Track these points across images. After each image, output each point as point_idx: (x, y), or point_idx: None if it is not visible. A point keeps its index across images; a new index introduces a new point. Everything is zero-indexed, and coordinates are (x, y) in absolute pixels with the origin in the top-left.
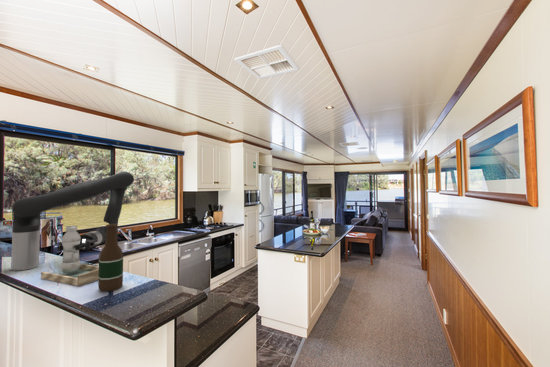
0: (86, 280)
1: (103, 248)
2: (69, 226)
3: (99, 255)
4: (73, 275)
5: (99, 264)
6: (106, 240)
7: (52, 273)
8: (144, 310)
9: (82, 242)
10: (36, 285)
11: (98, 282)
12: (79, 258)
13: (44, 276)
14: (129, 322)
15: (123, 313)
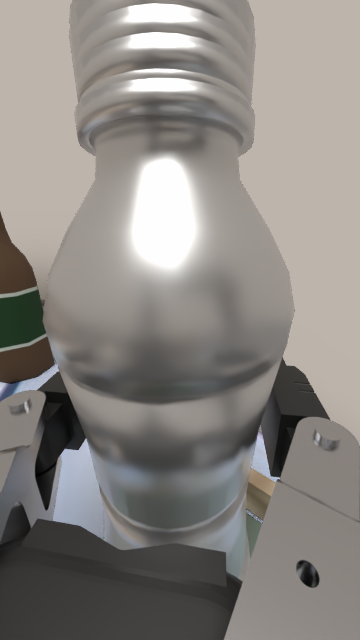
0: None
1: (17, 249)
2: (233, 17)
3: (32, 271)
4: None
5: (39, 295)
6: (3, 222)
7: (251, 480)
8: None
9: (29, 425)
10: (260, 438)
11: (50, 347)
12: None
13: None
14: (44, 302)
15: (43, 311)
